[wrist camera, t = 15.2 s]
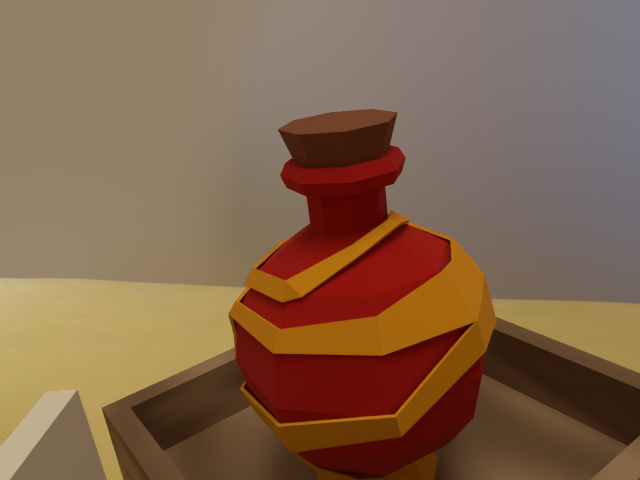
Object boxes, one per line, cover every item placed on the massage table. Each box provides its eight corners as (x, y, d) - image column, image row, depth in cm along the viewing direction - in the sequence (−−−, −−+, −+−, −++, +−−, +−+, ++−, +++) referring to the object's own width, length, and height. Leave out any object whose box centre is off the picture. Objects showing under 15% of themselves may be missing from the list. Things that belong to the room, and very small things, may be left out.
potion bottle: (420, 626, 19) (377, 170, 14) (210, 494, 26) (127, 150, 20) (544, 437, 26) (547, 90, 21) (356, 372, 33) (322, 95, 27)
